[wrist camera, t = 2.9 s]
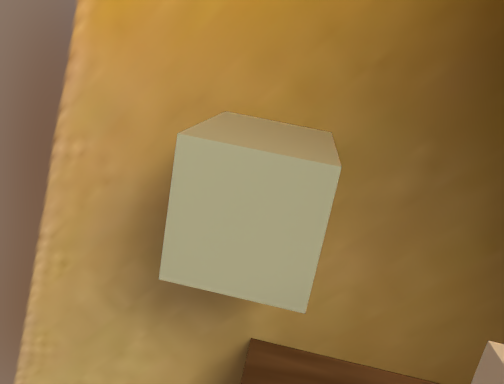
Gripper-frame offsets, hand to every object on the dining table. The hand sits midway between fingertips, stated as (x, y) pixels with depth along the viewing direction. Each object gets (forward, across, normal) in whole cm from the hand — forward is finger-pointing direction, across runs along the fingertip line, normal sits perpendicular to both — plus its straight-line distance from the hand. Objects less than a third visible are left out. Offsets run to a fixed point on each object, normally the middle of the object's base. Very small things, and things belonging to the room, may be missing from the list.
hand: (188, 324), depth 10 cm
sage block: (+16, 0, 0) cm, 16 cm away
